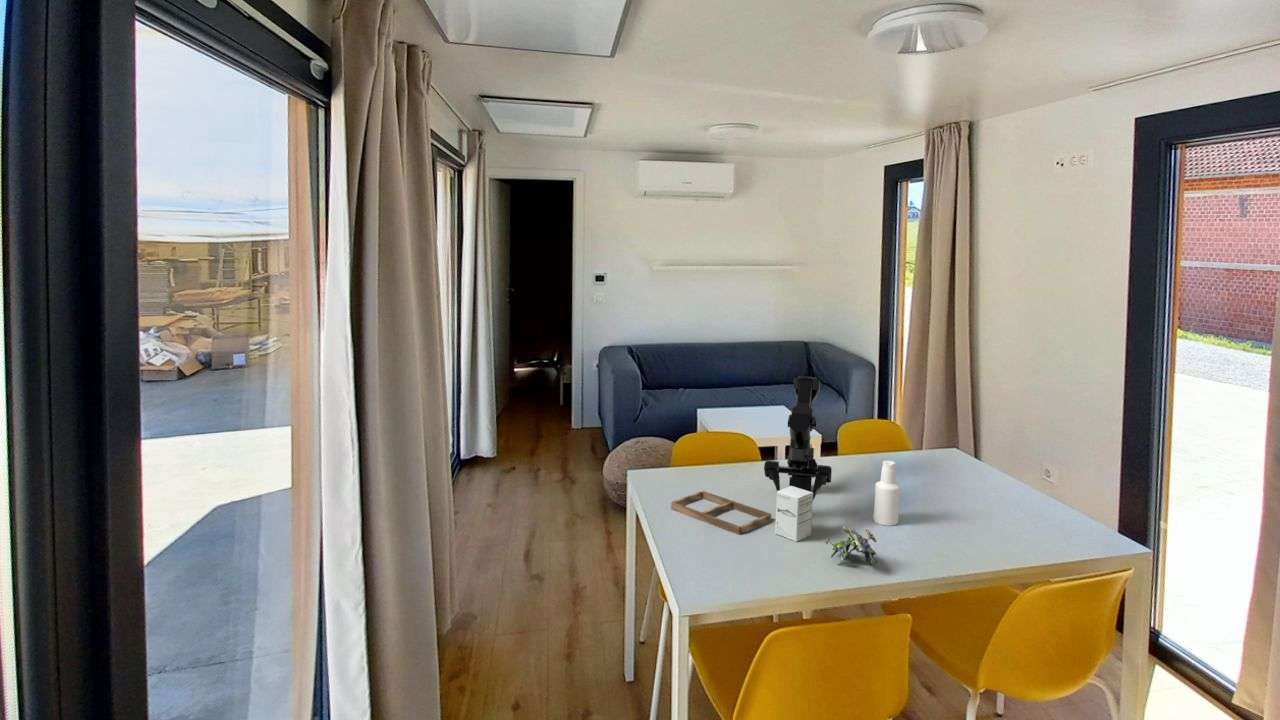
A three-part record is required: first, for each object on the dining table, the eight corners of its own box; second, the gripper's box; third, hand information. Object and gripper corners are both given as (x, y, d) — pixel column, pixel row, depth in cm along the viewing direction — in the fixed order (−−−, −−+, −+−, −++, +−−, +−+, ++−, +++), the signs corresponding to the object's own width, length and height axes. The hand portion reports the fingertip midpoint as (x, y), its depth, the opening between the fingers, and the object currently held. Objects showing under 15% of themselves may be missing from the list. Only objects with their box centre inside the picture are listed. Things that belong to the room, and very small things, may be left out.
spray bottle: (897, 518, 202) (901, 459, 199) (898, 527, 195) (902, 466, 193) (873, 515, 204) (876, 457, 201) (872, 524, 198) (876, 464, 195)
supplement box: (774, 534, 191) (775, 490, 189) (790, 527, 196) (791, 484, 194) (796, 542, 185) (798, 498, 183) (812, 535, 190) (814, 491, 188)
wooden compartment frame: (702, 496, 219) (702, 490, 219) (772, 520, 200) (772, 514, 200) (669, 508, 209) (669, 502, 209) (740, 535, 190) (740, 528, 189)
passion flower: (866, 584, 174) (891, 559, 166) (828, 581, 171) (851, 555, 163) (853, 545, 182) (875, 519, 174) (816, 541, 179) (838, 515, 171)
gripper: (765, 433, 197) (760, 483, 189) (833, 438, 192) (830, 489, 184) (767, 452, 206) (762, 500, 197) (832, 457, 201) (829, 506, 192)
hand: (795, 498), depth 192 cm, fingers open, 9 cm apart
